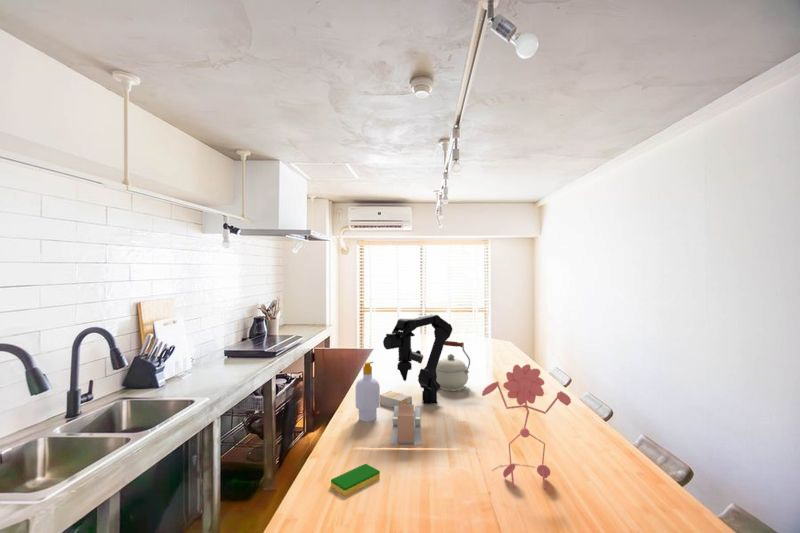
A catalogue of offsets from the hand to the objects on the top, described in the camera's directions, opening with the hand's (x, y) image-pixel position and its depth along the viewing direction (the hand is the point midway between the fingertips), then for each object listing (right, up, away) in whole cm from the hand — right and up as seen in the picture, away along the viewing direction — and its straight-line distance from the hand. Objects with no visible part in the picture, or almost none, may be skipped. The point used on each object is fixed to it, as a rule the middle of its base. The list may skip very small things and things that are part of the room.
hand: (404, 380), depth 183 cm
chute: (0, -13, -21) cm, 25 cm away
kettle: (+24, -13, +33) cm, 43 cm away
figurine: (+36, -13, -59) cm, 71 cm away
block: (0, -12, -31) cm, 33 cm away
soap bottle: (-16, -13, -12) cm, 24 cm away
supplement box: (-9, -11, +9) cm, 17 cm away
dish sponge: (-16, -14, -61) cm, 65 cm away
